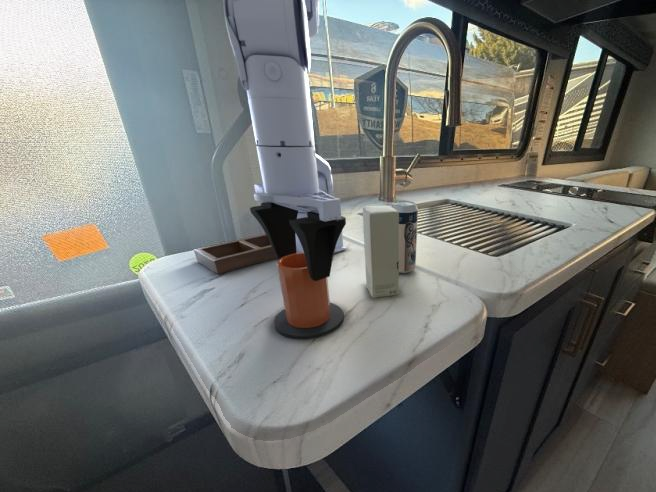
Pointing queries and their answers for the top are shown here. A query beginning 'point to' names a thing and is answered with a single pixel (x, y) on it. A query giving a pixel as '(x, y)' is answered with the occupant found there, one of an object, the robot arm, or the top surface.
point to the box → (381, 250)
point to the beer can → (407, 234)
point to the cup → (302, 293)
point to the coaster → (313, 332)
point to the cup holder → (235, 254)
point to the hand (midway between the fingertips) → (303, 269)
